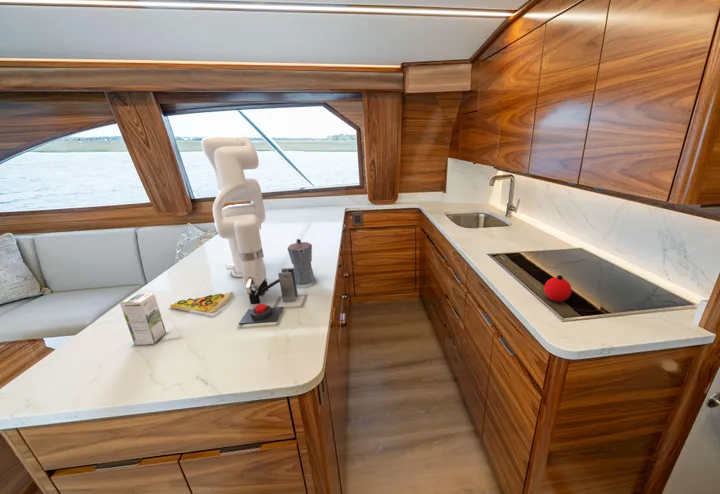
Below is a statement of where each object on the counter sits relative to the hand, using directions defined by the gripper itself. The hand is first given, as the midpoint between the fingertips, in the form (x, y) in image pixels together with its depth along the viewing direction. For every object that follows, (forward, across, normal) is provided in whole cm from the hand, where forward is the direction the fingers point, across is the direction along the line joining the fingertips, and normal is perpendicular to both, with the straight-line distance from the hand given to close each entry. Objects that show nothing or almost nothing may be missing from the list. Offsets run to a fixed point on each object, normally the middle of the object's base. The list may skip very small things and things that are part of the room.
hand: (260, 297), depth 111 cm
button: (-1, +11, +4) cm, 12 cm away
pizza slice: (+3, -1, -22) cm, 22 cm away
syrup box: (+3, +18, -27) cm, 33 cm away
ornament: (+3, +13, +110) cm, 111 cm away
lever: (-4, 0, +6) cm, 7 cm away
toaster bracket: (+3, 0, +11) cm, 11 cm away
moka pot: (+3, -16, +13) cm, 21 cm away
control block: (+3, +11, +4) cm, 12 cm away
